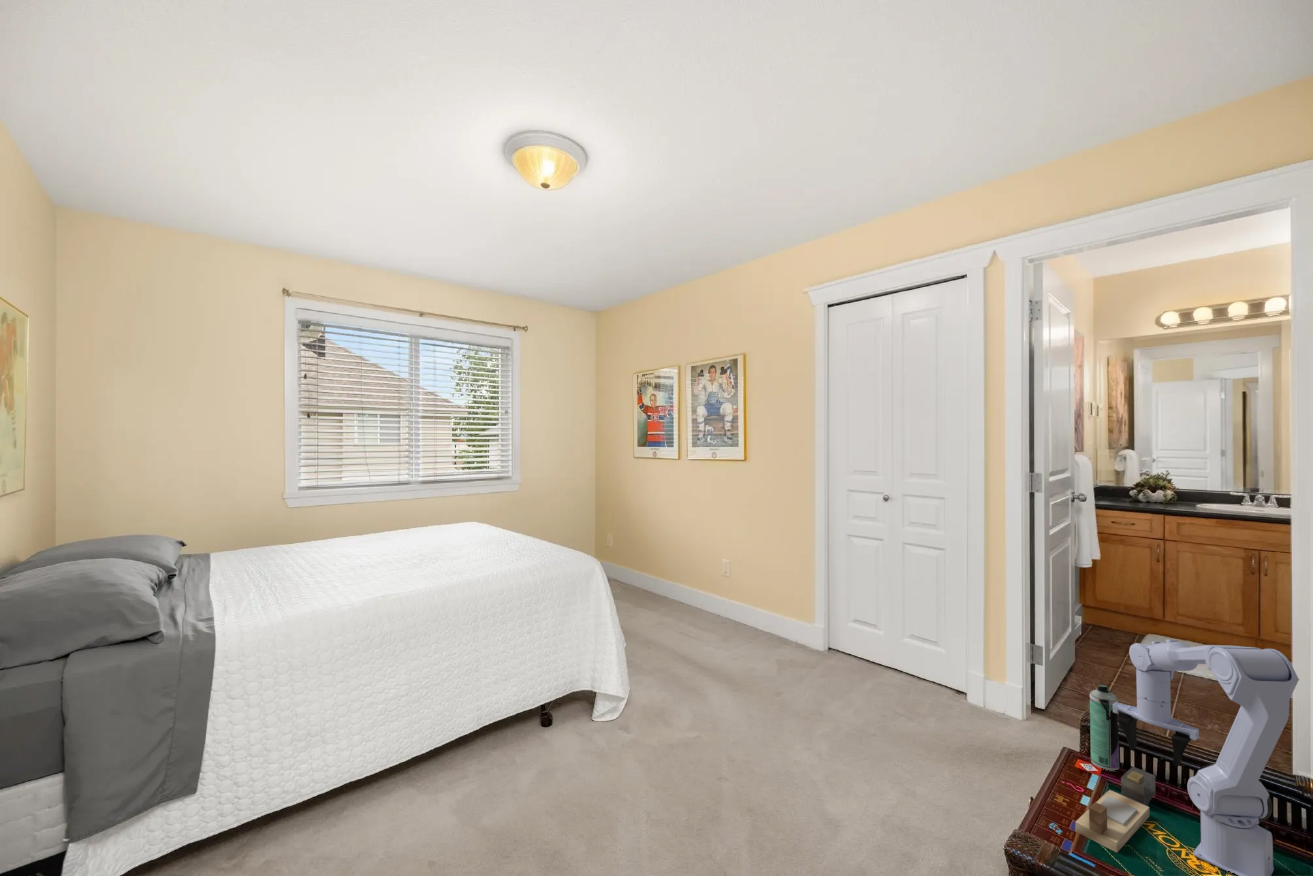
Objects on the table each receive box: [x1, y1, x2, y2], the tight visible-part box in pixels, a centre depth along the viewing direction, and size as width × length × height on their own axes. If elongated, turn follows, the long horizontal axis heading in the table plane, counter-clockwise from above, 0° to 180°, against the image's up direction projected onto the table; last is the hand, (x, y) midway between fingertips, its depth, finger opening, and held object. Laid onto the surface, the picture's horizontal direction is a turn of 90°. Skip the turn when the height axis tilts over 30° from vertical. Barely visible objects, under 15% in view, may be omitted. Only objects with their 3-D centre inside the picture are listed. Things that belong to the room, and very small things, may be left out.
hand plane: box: [1074, 789, 1150, 853], centre depth 116 cm, size 7×18×6 cm, turn 122°
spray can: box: [1089, 684, 1120, 772], centre depth 136 cm, size 6×6×20 cm
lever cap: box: [1120, 766, 1156, 806], centre depth 124 cm, size 4×7×6 cm, turn 122°
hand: (1154, 756), depth 124 cm, fingers open, 7 cm apart
